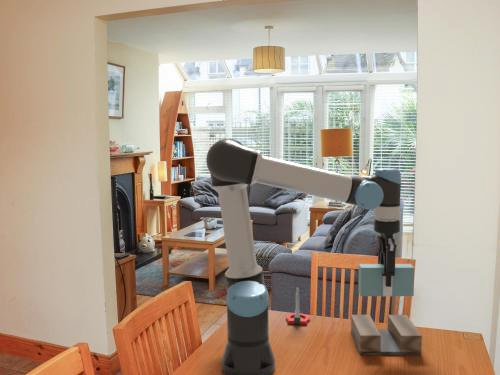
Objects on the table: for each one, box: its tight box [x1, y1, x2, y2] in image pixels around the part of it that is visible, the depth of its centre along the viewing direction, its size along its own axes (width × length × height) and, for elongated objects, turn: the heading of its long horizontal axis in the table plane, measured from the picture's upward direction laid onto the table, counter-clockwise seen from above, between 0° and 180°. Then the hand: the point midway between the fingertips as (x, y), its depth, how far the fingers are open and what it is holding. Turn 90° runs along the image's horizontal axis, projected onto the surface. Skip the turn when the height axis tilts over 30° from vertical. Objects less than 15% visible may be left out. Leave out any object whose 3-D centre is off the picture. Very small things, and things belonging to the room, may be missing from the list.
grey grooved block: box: [350, 314, 423, 356], centre depth 150 cm, size 18×16×6 cm
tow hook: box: [285, 287, 311, 326], centre depth 169 cm, size 8×13×9 cm
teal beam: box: [357, 263, 415, 297], centre depth 148 cm, size 16×4×9 cm, turn 88°
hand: (385, 293), depth 149 cm, fingers closed on teal beam, 4 cm apart
